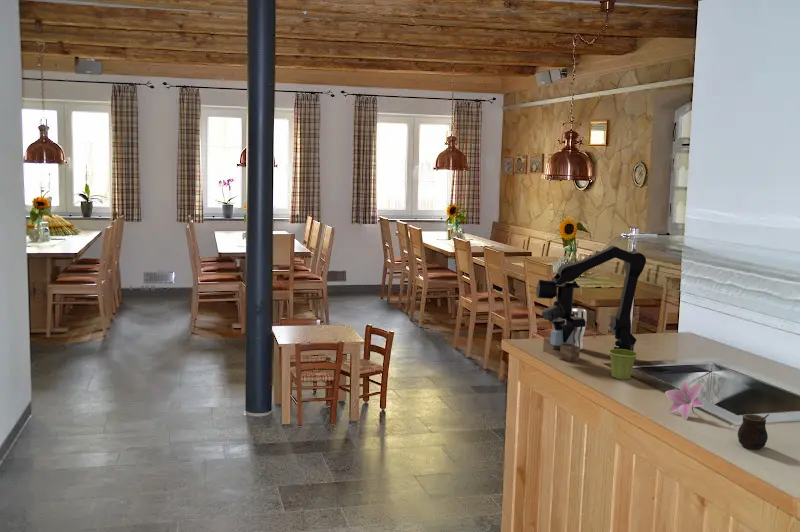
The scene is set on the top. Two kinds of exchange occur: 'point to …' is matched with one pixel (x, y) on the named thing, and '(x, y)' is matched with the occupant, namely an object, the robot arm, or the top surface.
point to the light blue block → (559, 338)
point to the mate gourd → (753, 431)
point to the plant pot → (622, 363)
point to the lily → (685, 399)
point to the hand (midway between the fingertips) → (561, 341)
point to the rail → (562, 350)
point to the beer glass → (579, 330)
